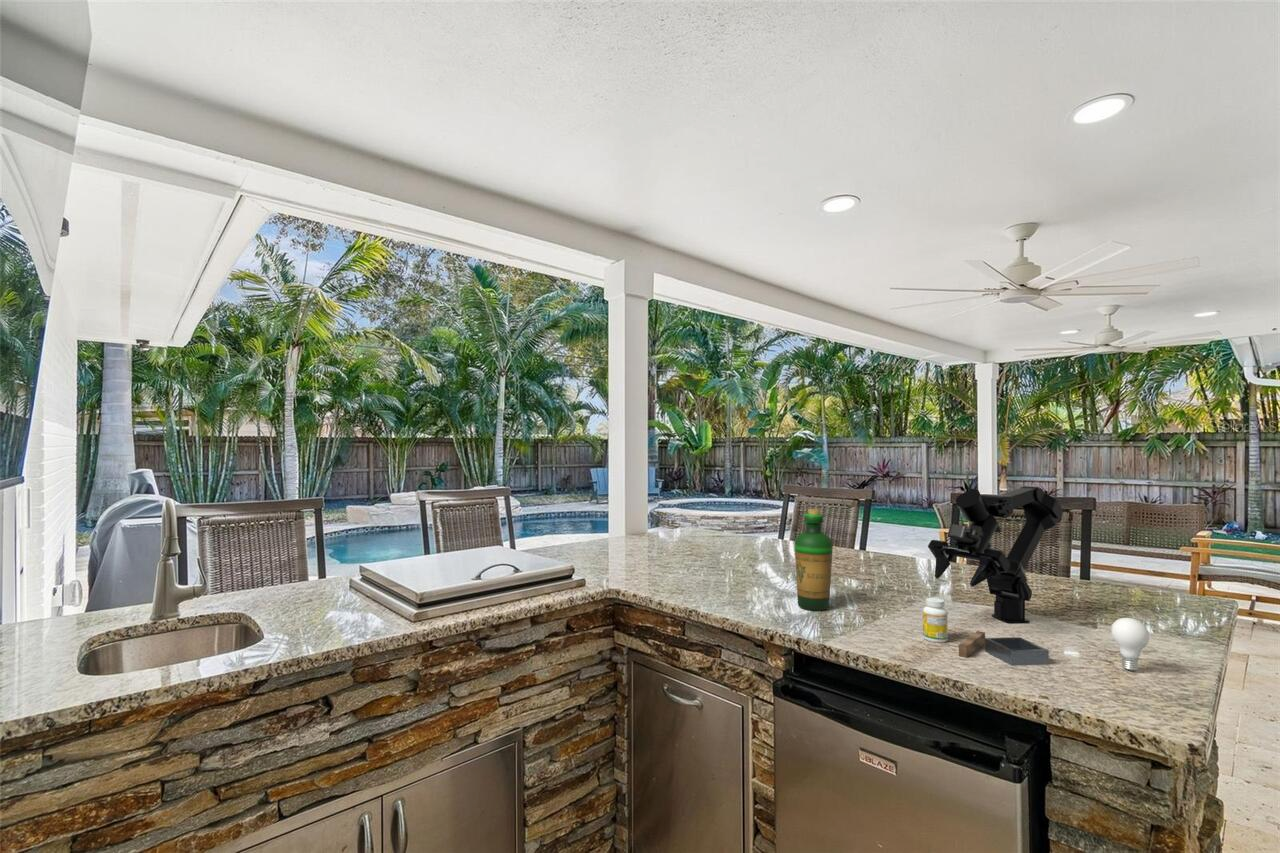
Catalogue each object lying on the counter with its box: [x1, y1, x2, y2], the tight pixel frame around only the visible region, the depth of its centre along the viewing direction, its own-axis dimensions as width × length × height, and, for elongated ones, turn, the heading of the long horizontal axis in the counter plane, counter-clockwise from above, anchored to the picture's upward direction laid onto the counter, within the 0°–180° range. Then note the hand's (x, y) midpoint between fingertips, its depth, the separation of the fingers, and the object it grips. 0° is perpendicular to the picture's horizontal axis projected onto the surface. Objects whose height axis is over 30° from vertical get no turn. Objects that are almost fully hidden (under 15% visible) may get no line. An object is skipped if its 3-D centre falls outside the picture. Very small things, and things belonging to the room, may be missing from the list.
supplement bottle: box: [922, 597, 948, 644], centre depth 148 cm, size 5×5×10 cm
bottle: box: [794, 508, 834, 612], centre depth 175 cm, size 11×11×28 cm
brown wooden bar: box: [958, 630, 986, 659], centre depth 141 cm, size 14×2×2 cm, turn 136°
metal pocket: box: [984, 636, 1050, 666], centre depth 136 cm, size 9×9×3 cm
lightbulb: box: [1110, 617, 1150, 672], centre depth 129 cm, size 6×6×11 cm
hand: (953, 581), depth 152 cm, fingers open, 9 cm apart
